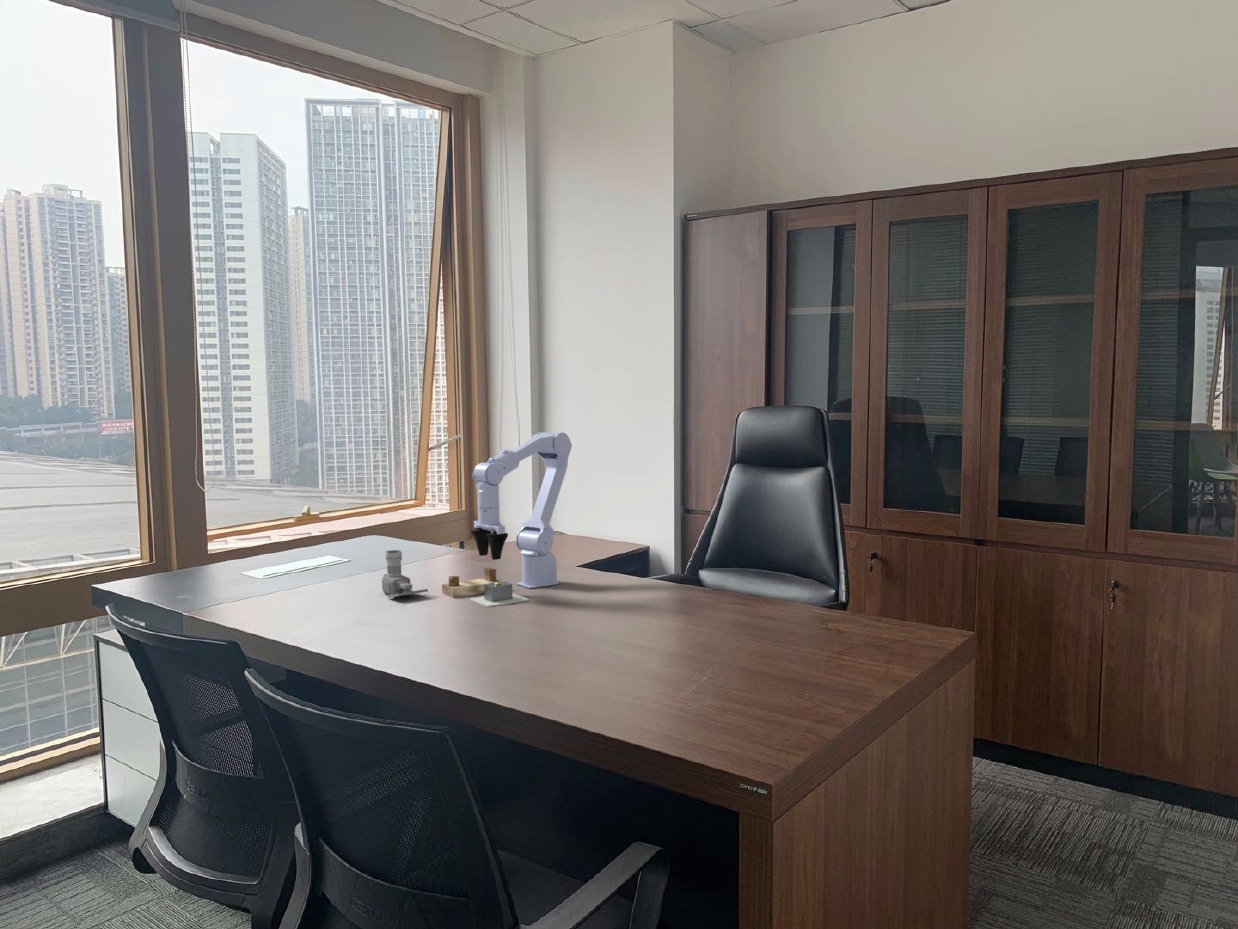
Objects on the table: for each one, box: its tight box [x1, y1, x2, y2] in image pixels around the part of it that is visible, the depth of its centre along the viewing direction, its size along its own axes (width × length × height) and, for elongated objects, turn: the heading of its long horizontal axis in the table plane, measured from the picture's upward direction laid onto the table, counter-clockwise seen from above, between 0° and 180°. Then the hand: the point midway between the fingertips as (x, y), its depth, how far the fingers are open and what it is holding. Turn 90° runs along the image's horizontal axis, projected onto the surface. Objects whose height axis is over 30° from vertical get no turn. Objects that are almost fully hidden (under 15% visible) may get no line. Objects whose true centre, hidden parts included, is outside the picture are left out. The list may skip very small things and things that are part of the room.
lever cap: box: [483, 581, 514, 602], centre depth 246 cm, size 6×4×4 cm
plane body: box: [441, 567, 503, 599], centre depth 257 cm, size 15×7×6 cm, turn 125°
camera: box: [381, 549, 429, 599], centre depth 253 cm, size 9×12×15 cm
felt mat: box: [470, 592, 529, 608], centre depth 246 cm, size 12×10×1 cm
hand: (489, 557), depth 252 cm, fingers open, 7 cm apart
